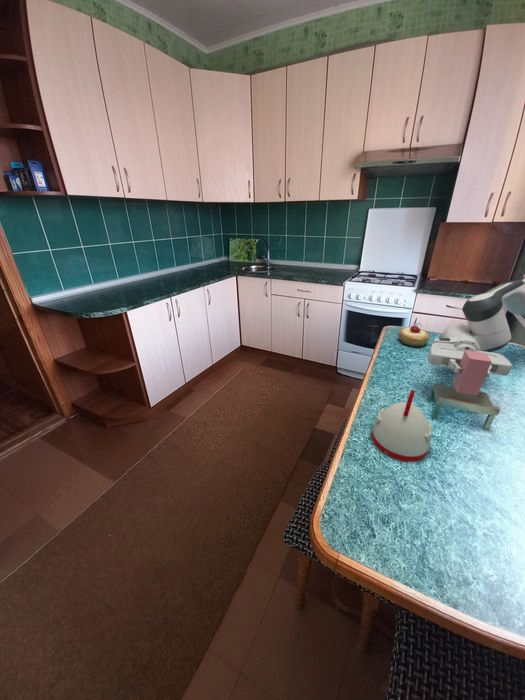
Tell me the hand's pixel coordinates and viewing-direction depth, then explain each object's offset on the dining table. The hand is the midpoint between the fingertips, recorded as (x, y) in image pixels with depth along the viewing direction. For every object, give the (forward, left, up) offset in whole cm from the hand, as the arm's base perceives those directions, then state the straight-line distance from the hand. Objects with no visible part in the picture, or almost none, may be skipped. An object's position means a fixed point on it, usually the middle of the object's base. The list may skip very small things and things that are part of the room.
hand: (472, 373), depth 79 cm
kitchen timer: (+16, +17, -15) cm, 28 cm away
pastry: (+10, -49, -15) cm, 52 cm away
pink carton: (0, -1, -6) cm, 6 cm away
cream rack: (0, -1, -15) cm, 15 cm away
